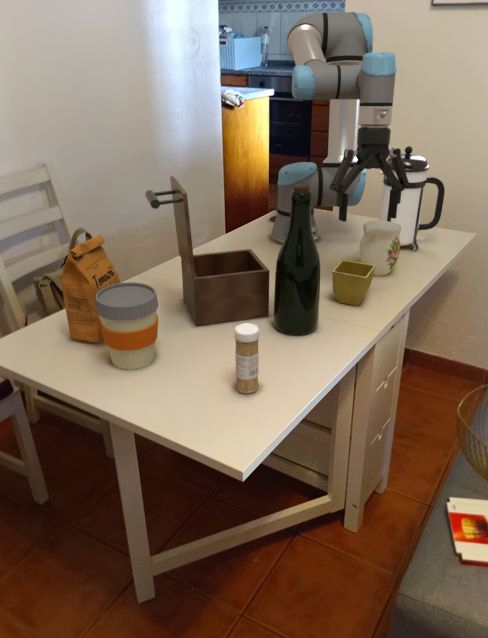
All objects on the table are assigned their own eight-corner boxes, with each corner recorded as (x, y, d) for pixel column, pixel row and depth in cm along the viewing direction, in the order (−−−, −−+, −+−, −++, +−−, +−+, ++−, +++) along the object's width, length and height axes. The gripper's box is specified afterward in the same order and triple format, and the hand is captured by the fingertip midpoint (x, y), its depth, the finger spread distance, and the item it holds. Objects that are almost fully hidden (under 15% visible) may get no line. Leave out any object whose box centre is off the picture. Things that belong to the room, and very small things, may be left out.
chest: (250, 292, 156) (250, 248, 150) (268, 316, 143) (269, 270, 137) (183, 300, 151) (180, 256, 145) (196, 326, 139) (193, 279, 133)
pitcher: (409, 265, 172) (416, 219, 165) (382, 285, 160) (388, 236, 153) (375, 256, 178) (380, 212, 171) (346, 275, 166) (350, 227, 159)
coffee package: (133, 325, 139) (123, 235, 128) (99, 349, 130) (85, 254, 119) (99, 317, 143) (87, 229, 132) (64, 339, 134) (47, 246, 123)
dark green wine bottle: (290, 340, 133) (296, 194, 116) (264, 322, 141) (266, 183, 124) (326, 329, 138) (337, 187, 121) (300, 312, 145) (306, 176, 129)
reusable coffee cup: (167, 368, 123) (162, 303, 115) (105, 378, 120) (96, 311, 112) (157, 340, 133) (152, 278, 126) (101, 348, 130) (92, 285, 123)
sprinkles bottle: (252, 380, 119) (252, 320, 112) (262, 391, 115) (263, 330, 109) (231, 385, 117) (230, 325, 111) (241, 397, 114) (241, 335, 107)
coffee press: (404, 257, 177) (419, 154, 162) (362, 243, 188) (372, 145, 173) (437, 244, 187) (453, 146, 172) (395, 232, 198) (408, 138, 183)
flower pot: (372, 297, 153) (376, 264, 149) (363, 310, 146) (366, 277, 142) (339, 291, 156) (342, 259, 152) (329, 304, 149) (331, 271, 145)
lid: (173, 176, 136) (141, 180, 134) (186, 192, 123) (151, 197, 121) (182, 253, 145) (152, 258, 144) (195, 276, 133) (163, 282, 131)
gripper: (332, 128, 130) (327, 224, 139) (430, 126, 137) (420, 218, 146) (318, 127, 137) (314, 219, 145) (412, 125, 144) (403, 213, 152)
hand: (367, 219), depth 145 cm, fingers open, 13 cm apart
